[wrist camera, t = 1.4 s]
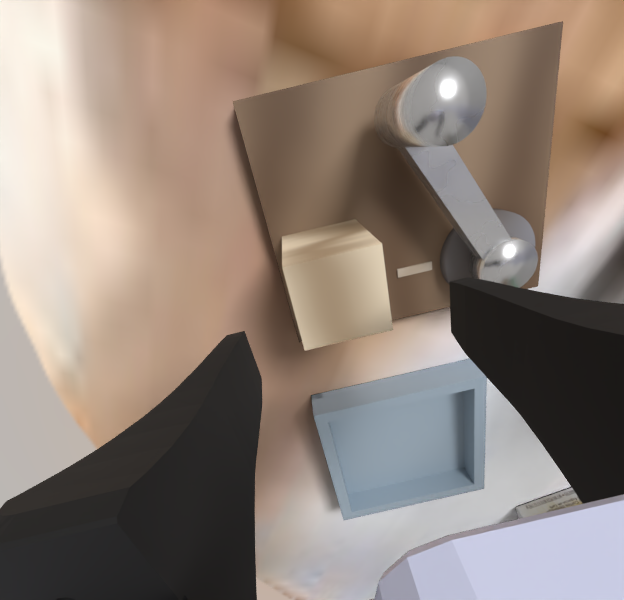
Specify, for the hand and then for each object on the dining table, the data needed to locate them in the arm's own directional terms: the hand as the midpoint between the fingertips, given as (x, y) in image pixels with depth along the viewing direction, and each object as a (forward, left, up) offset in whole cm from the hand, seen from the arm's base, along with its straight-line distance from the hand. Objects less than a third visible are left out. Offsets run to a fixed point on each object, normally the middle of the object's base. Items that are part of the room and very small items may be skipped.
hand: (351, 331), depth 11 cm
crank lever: (-7, -2, -6) cm, 10 cm away
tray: (-3, +16, -9) cm, 18 cm away
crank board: (-5, -2, -9) cm, 10 cm away
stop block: (0, 0, -8) cm, 8 cm away
